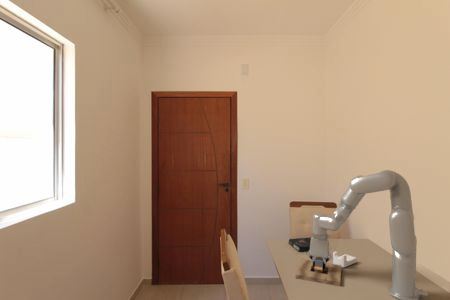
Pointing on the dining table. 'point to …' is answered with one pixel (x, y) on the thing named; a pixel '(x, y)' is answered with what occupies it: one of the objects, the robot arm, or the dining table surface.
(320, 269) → the block
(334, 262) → the bracket
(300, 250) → the portable cd player
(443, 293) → the dining table surface
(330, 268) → the plate
